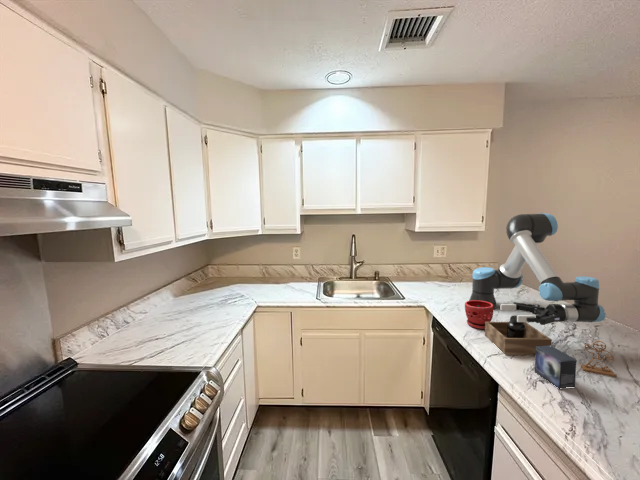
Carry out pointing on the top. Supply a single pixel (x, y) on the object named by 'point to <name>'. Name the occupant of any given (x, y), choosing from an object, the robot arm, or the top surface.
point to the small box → (555, 366)
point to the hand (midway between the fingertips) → (508, 312)
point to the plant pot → (478, 313)
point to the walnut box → (515, 339)
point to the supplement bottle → (516, 328)
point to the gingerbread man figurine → (597, 369)
